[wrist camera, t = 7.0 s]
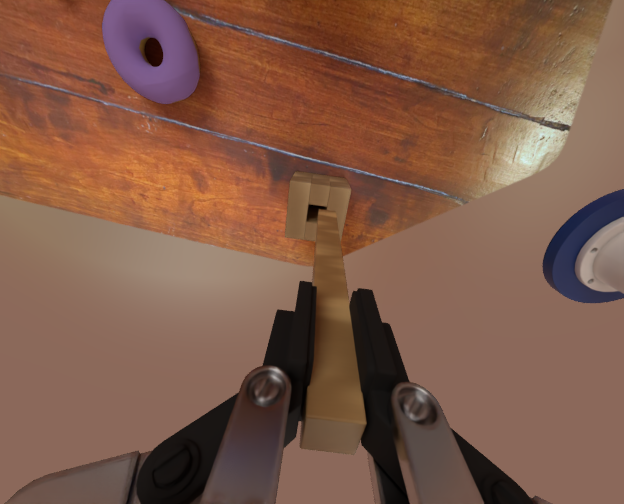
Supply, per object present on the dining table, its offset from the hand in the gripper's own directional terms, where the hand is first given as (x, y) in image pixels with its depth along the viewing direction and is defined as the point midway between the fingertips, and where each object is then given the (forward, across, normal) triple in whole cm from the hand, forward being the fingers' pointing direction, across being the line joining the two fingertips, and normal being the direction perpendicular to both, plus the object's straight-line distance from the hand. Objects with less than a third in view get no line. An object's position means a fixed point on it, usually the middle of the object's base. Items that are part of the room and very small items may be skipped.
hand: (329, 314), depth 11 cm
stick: (+13, 0, 0) cm, 13 cm away
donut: (+27, +21, -12) cm, 36 cm away
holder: (+27, +1, +2) cm, 27 cm away
